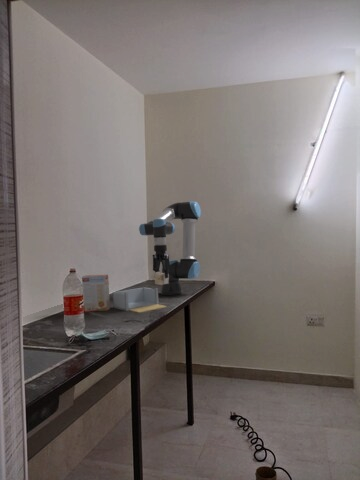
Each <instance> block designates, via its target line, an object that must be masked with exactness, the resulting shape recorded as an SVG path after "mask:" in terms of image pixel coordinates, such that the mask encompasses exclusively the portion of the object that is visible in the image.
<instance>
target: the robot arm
mask: <svg viewBox="0 0 360 480" xmlns="http://www.w3.org/2000/svg"><path fill="white" fill-rule="evenodd" d="M201 215H202V211H201V206H200V204H199V203H198V202H197V201H191V200H190V201H184V202H183V201H182V202H175V203H171V205H168V206H167V207H165V208H164V209H163V210H162V212H161V213H159V214H158V215H157V216H155V217H154V218H153V219H151V220H150V221H148V222H147V223H141V224H140V225H139V227H138V231H139V234H140V235H141V236H145V237H147V236H153V244H154V246H153V251H154V252H155V254H152V271H153V272H154V274H159V273H163V280H164V284H163V285H161V289H160V295H162V296H175V295H181V294H182V293H183V289H182V286H181V283H180V280H182V279H183V280H192V279H197V278H198V276H199V274H200V270H201V265H200V262H199V261H198V260H197V258H196V257H195V256H196V223H197V222H198V221H199V220H198V219H199V218H201ZM173 220H180V221H181V222H182V256H181V258H180V259H179V260H178V259H173V260H170V254H167V253H166V252H167V243H168V242H167V235H172V234H174V233H175V231H176V226H175V224H174V223H173V222H172V221H173ZM160 267H161V270H160ZM168 274H169V284H167V283H168Z"/></svg>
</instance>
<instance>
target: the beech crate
mask: <svg viewBox="0 0 360 480" xmlns="http://www.w3.org/2000/svg"><path fill="white" fill-rule="evenodd" d="M153 278H154V284H155V285H160V286H162V285H163V284H164V280H163V273H162V272H160V273H159V274H155V273H154V276H153ZM167 284H169V274H168V283H167Z"/></svg>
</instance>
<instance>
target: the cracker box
mask: <svg viewBox="0 0 360 480" xmlns="http://www.w3.org/2000/svg"><path fill="white" fill-rule="evenodd" d="M81 279H82V280H81V281H82V282H81V283H82V295H83V294H84V302H83V312H84V311H85V312H84V313H93V312H95V311H99V312H100V311H101V312H103V311H106V312H107V311H108V310H110V309H111V301H110V286H109V285H110V283H109V274H90V275H83V276H81Z"/></svg>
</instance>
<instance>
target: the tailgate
mask: <svg viewBox="0 0 360 480" xmlns="http://www.w3.org/2000/svg"><path fill="white" fill-rule="evenodd" d="M164 308H168V306H167V305H163V304H159V305H158V304H156V305H151V306H145V307H140V308H135V309H130V310H129V311H130V312H133V313H139V314H140V313H144V312H145V313H146V312H149V311H150V312H151V311H154V310H160V309H164Z"/></svg>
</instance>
